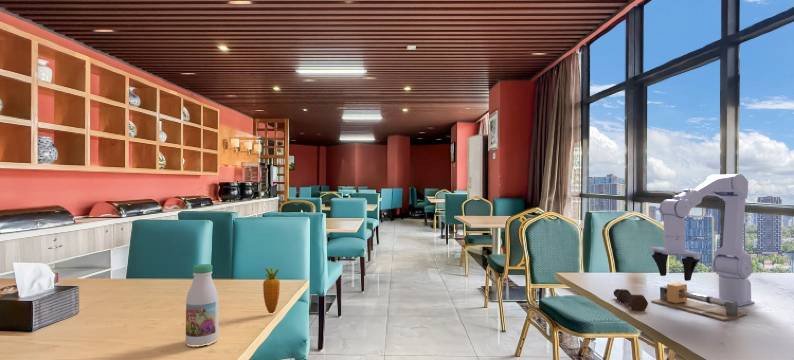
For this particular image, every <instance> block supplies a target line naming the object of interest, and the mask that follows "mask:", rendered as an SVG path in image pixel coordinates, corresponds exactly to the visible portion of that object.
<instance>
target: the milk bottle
mask: <svg viewBox="0 0 794 360" xmlns="http://www.w3.org/2000/svg"><path fill="white" fill-rule="evenodd" d="M212 274H213V265H212V264H209V263H205V264H204V263H203V264H196V265H193V267H192V275H193V280H192V283H191V285H190V288H189V290H188V291H187V295H186V301H185V303H186V304H185V344H186V343H187V344H189V345H203V344H207V343H210V342H212V341H214V340H216V339H217V338H218V337H219V325H220V323H219V322H220V321H219V319H220V316H219V309H220V307H219V304H220V303H219V302H220V301H219V293H218V289H217V288H216V285H215V283H214V281H213V277H212ZM218 339H219V338H218ZM187 344H186V345H187Z"/></svg>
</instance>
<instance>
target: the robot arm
mask: <svg viewBox="0 0 794 360" xmlns="http://www.w3.org/2000/svg"><path fill="white" fill-rule="evenodd" d="M748 192H749V180H748V179H747V178H746V176H745V175H743V174H742V173H735V174H733V173H731V174H710V175H709V176H707V177H705V180H704V181H703V182H701V183H700V184H699V185H698V186H696V187H695V188H684V189H682V192H680V193H679V194H675V195H674V196H673V197H672V198H671V199H669V198H668V199H664V200H663V201H662V202H661V203H660V205H659V207H658V212H659V214H660V216H661V220H662V222H663V246H662V247H661V246H651V247H650V253H652V254H651V257H652V259H653V261H654V262H655V263H656V266H657V268H658V271H659V276H660V277H666V276H667V263H668V258H669V256H674V257H680V258H681V257H682V258H681V262H682V266H683V267H682V268H683V276H684V277H683V278H684V279H683V280H684V281H685V282H689V281H691V280H692V276H693V273H694V270H695V268H696V266H697V265H698V263H699V262H700V259H702V258H701V257H702V253H701V252H697V251H692V250H688V249H686V218H685V217H688V216H689V213H690V211H691V210H692V209H693V208H695V207H696V206H698V205H700V204H701V203H702V201H703V198H704V197H706V196H708V195H710V194H714V195H715V196H716V197H718V198H720V199H722V200H723V201H724V203H725V208H724V219H723V220H724V221H723V233H722V234H723V235H722V236H723V237H722V246H721V247H719V248H718V249H716V250H715V251H714V257H713V258H712V261H711V267H712V269H713V271H714V272H716V275H717V276H718V297H717V298H718V299H722V300H727V301H731V300H732V301H737V302H738V307H741V306H747V305H750V304H751V305H752V304H754V303H755V301H754V300H752V283H751V280H750V279H749V277H750V276H751V275H752V273H753V271H754V266H753V263H752V255H751V254H749V253H748V252H747V251H746V250H744V249H743V244H744V243H743V239H744V223H745V210H746V199H748Z"/></svg>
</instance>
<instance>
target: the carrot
mask: <svg viewBox="0 0 794 360" xmlns="http://www.w3.org/2000/svg"><path fill="white" fill-rule="evenodd" d="M279 270H280V269H279V268H276V269H275V271H274V269H273V268H269V267H268V266H267V267H266V268H265V271H266V272H267V273H265V276H266V277H267V279H265V280H264V281H263V283H262V287H263V288H262V289H263V299H264V304H265V307H266V310H267V312H268V313H273V312H274V313H275V312H276V309H277V307H278V303H279V298H280V286H281V285H280V281H281V280H280V279H278V278H276V276H277V274H278V272H279ZM274 313H273V314H274Z"/></svg>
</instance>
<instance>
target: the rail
mask: <svg viewBox="0 0 794 360" xmlns="http://www.w3.org/2000/svg"><path fill="white" fill-rule="evenodd" d="M659 296H660V297H659V299H662V300H667V285H666V286H665V285H664V286H660V287H659ZM679 296H681V297H685V298H687V299H688V300H689V299H690V300H693V301H697V302H699V301H700V302H701V303H703V302H704V303H706V304H708V305H714V306H716V305H717V306H719V307H723V308H725V309H726V315H727V316H731V317H734V316H738V312H739V310H738V309H739V306H738V302H737V301H732V300H731V301H727V300H722V299H718V298H719V297H713V296H710V295H705V294H699V293H695V292H694V293H693V292H689V291H687V292H686V291H681V290H679Z"/></svg>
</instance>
